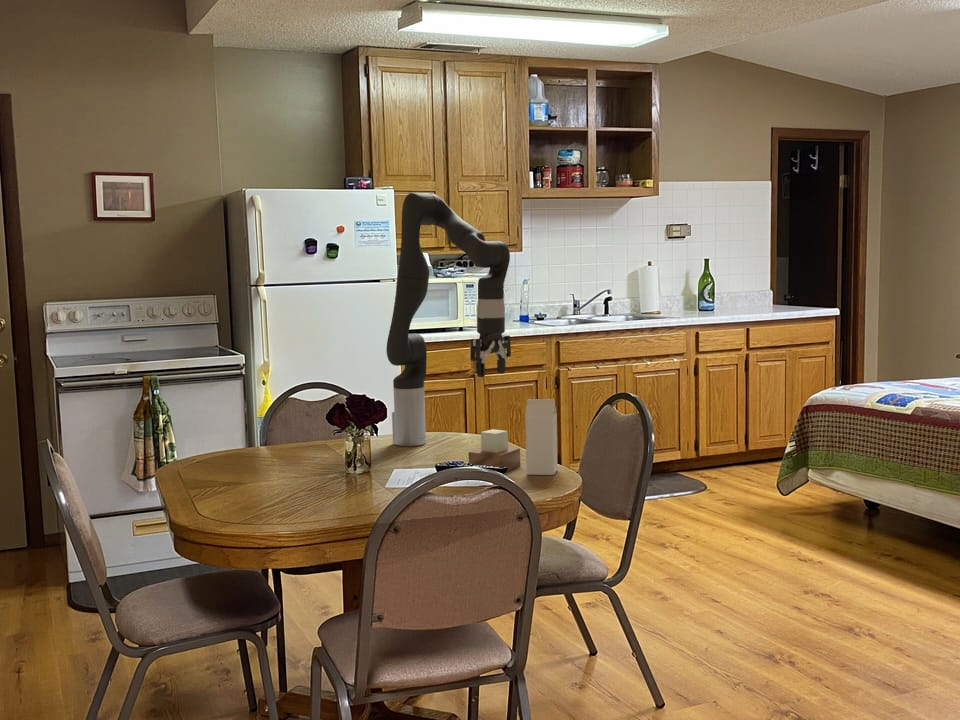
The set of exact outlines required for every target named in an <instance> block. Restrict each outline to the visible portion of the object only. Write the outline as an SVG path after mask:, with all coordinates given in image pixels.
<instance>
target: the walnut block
mask: <svg viewBox="0 0 960 720" xmlns="http://www.w3.org/2000/svg"><path fill="white" fill-rule="evenodd" d="M469 464H474V465H486V466H493V467H499V468H504V467H507V468H508V471H511V470H513V469H516V468H518V467H521V448H520V447H512V446H511V447H510V446H508V450H505V451H501V452H497V453H494V452H486V451H481V447H480V448H476V449H474V450H470V451H468V465H469Z"/></svg>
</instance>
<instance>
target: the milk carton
mask: <svg viewBox="0 0 960 720" xmlns="http://www.w3.org/2000/svg"><path fill="white" fill-rule="evenodd" d="M557 415H558V413H557V409H556V401H555V399H554V398H553V399H552V398H549V399H546V398H544V399H543V398H542V399H541V398H538V399H537V398H532V399H531V398H527V399H526V409H525V415H524V417H525V418H524V421H525V423H524V424H525V425H524V426H525V427H524V428H525V461H526V462H525V467H526V469H525V470H526V471H525V473H526V475H533V476H535V475H536V476H537V475H538V476H540V475H541V476H555V474H556V472H557V471H558V428H557V427H558V423H557V422H558V420H557Z"/></svg>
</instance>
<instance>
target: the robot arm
mask: <svg viewBox="0 0 960 720" xmlns="http://www.w3.org/2000/svg"><path fill="white" fill-rule="evenodd" d="M421 226H436V227H438V228H441V229H443V230H444V231H445V232H446V236H447V239H448V240H449V241H450V242H451V243H452V244H453V245H454V246H456V247H457V248H458V249H460V250H461V251H462V252H464V253H465V255H466V257H467V258H468V259H469V260H470V261H471V263H472V264H473V265H474V266H476V267H479V268H482V269H488V268H489V270H488V273H487V275H485V276H483V277H480V278H479V279H478V281H477V305H476V332H477V333H478V334H479V338H472V339H470V355H469V356H470V359H469V360H470V361H471V362H473V363H475V365H476V370H475V371H476V373H475V374H476V376H477V377H479V378H485V376H486V367H485V366H486V364H485V361H486V360H487V357H489V355H490V354H495V356H496V358H497V360H496V361H497V363H496V365H497V366H496V368H497V369H496V373H497V374H503V375H504V374H505V373H506V360H507V359H508V358H510V357H511V356H512V350H511V349H512V348H511V347H512V345H511V336H510V335H508V334H507V335H506V334H504V333H505V332H506V331H505V330H506V327H505V326H506V322H505V320H506V319H505V318H506V316H505V315H506V311H505V310H506V308H505V307H506V305H505V299H504V298H505V291H504V290H505V289H504V288H505V281H506V277H507V272H508V269H509V265H510V259H511V255H510V254H511V252H510V249H509V247H508V245H507V244H506V243H505V242H503V241H500V240H496V241H495V240H494V241H493V240H491V241H487V240H486V238H485V235H484V234H483V233H482V232H481V231H480V230H478V229H477V228H475V227H474V226H473V225H471V224H469V223H468V222H467V221H465V220H463V219H462V218H461V217H460V216H459V215H458V214H457V213H456V212H455V211H454V210H453V209H452V208H451V207H450V206H449V205H448V204H447V203H446V201H444V199H442V198H441V197H440V196H439V195H438V194H435V193H430V192H427V193H426V192H410V193H408V194H407V195H406V196H405V197H404V200H403V203H402V208H401V231H400V232H401V238H400V239H401V240H400V252H399V253H400V255H399V260H398V261H399V263H398V269H397V276H396V288H395V297H394V303H393V304H394V305H393V311H392V317H391V322H390V327H389V331H388V336H387V341H386V357H387V360H388V362H389V364H391V365H393V366H398V367H400V366H404V369H403V370H402V372H401V373H400V374H398V375H397V376H395V377H394V378H393V382H392V383H393V406H394V408H393V410H394V411H392V413H391V420H392V421H391V422H392V423H391V424H392V425H391V426H392V427H391V428H392V444H395V445H396V446H401V447H413V446H416V447H417V446H422V445H425V444H426V443H427V440H426V439H427V436H426V431H427V430H426V408H425V407H426V405H425V404H426V403H425V402H426V401H425V397H426V396H425V380H426V377H427V355H428V354H427V343H426V341H425V339H424V336H422V335H421V334H419V333H415V332H414V333H410V328H411V323H412V321H413V318H414V316H415V315H416V313H417V311H418V310H419V309H420V306H421V305H422V303H423V302H424V300H425V298H426V297H427V293H428V288H429V281H430V268H429V264H428V262H427V260H426V257H425V255H424V253H423V251H422V247H421V243H420V238H421V235H420V233H421Z"/></svg>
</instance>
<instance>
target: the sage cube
mask: <svg viewBox="0 0 960 720" xmlns="http://www.w3.org/2000/svg"><path fill="white" fill-rule="evenodd" d="M508 434H509V431H508V430H502V429H493V428H492V429H488V430H485V431H484V430H483V431H481V432H480V441H481V443H480V444H481V445H480V446H481V447H480V448H481V451H486V452H494V453H497V452H501V451H505V450H508V447H509V437H508V436H509V435H508Z"/></svg>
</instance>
